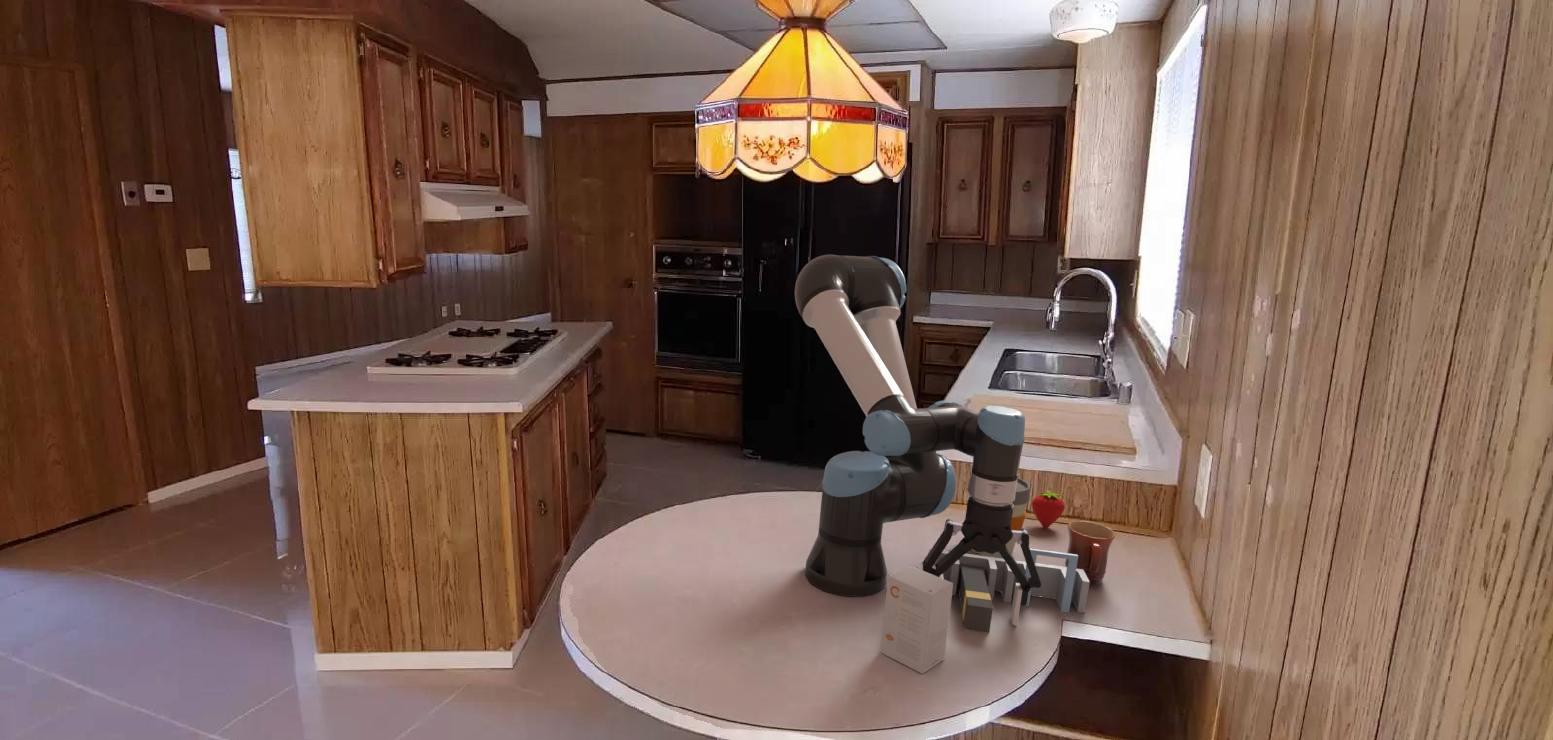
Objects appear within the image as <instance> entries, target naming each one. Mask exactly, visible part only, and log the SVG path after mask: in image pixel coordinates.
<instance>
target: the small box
mask: <svg viewBox="0 0 1553 740" xmlns="http://www.w3.org/2000/svg"><path fill="white" fill-rule="evenodd" d="M952 590H953V583H952V582H949V581H947V580H944V579H942V578H939V577H937V576H935V575H932V574H930V573H927V572H925V571H923V569H920V568H917V567H915V566H914V565H908V566H906V567H904V568H902V569H900V570H898V571H896V572H893V573H891V574H890V575H888V576H887V585H886V592H885V593H886V594H885V602H884V612H883V613H884V614H883V620H882V629H881V638H880V649H879V653H881V654H883V655H885V656H887V657H889V658H891V659H893V660H895V661H896V662H897V663H898V662H899V663H900V664H902V665H904V666H906V667H907V668H908V667H909V668H910V669H912V670H915V671H916V672H918V673H920V675H921V674H922V675H923V674H924V673H926V672H928V671H929V670H930V669H932V668H934V667H935V666H936V665H938V664H939V663H941V662H942V661H944V660H945V656H946V654H945V653H946V648H947V646H946V645H947V639H948V631H949V624H950V623H949V620H950V614H951V608H952V607H951V606H952V597H953V594H952Z"/></svg>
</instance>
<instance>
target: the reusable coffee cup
mask: <svg viewBox="0 0 1553 740" xmlns="http://www.w3.org/2000/svg"><path fill="white" fill-rule="evenodd" d="M970 479H971V475H970V477H969V479H968V480H969V481H968V485H967V492H968V497H969V496H970V494H969V486H970ZM1030 493H1031V485H1030V483H1029V482H1027V481H1026V480H1024V479H1022V478H1020V477H1018V478H1017V486H1016V493H1015V500H1014V501H1013V502H1012V503H1013V505H1014V508H1013V515H1012V522H1011V530H1015V531H1020V530H1021V529H1023V526H1024V523H1025V519H1026V515H1027V510H1026V509H1027V504H1028V503H1029V502H1030V499H1031V494H1030ZM967 502H968V500H967V501H966V503H967ZM1016 544H1017V542H1016V540H1015V539H1014V538H1012V539H1011V540H1010V541H1009V542H1008V543H1007V544H1006V547H1007V549H1008V550H1009V552H1010V553H1011V555H1012V556H1013V552H1014V549H1015V546H1016ZM970 551H972V552H973V553H975V554H976V555H979V556H987V557H994V558H1002V556H1001V555H1000V553H999V552H996V553H994V554H990V553H987V552H975V550H973V549H971V550H970ZM1002 559H1003V558H1002Z"/></svg>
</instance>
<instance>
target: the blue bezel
mask: <svg viewBox="0 0 1553 740" xmlns="http://www.w3.org/2000/svg"><path fill="white" fill-rule="evenodd" d="M1029 549H1030V552H1031V555H1032V558H1033V561H1034V564H1035V563H1037V562H1036V561H1037V557H1038V556H1042V557H1051V558H1058V559H1065V560H1066V559H1068V565H1067V571H1066V578H1065V584H1064V590H1063V596H1062V602H1061V608H1059V610H1060V612H1065V613H1070V607H1071V602H1072V601H1071V597H1072V591H1073V585H1074V579H1075V573H1076V567H1077V561H1078V555H1076V554H1068V553H1067V552H1060V551H1054V550H1053V551H1052V550H1051V551H1050V550H1044V549H1036V548H1030V547H1029ZM1025 576H1026V578H1030V577H1031V575H1030V572H1029V569H1028V566H1027V564H1026V570H1025ZM1031 589H1032V588H1030V591H1029V592H1028V598H1027V604H1026V606H1025V607H1028V606H1030V600H1031V597H1032V596H1031Z"/></svg>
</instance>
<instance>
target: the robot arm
mask: <svg viewBox="0 0 1553 740" xmlns="http://www.w3.org/2000/svg"><path fill="white" fill-rule="evenodd" d="M906 282H907V281H906V278H905V275H904V274H903V271H902V270H901V268H900V267H899V265H898V264H897V263H895V262H894V261H893V260H891V259H889V258H885V257H878V256H876V255H867V256H856V255H841V254H840V255H839V254H838V255H836V254H824V255H823V254H822V255H820V256H817V257H815V258H813V259H811V260H810V261H809V262H808V263H806V264H805V265H804V267H803V268H802V269H801V271H800V272H799V274H798V276H797V278H796V281H795V285H794V286H795V287H794V300H795V304H796V307H797V310H798V313H799V315H800V316H801V318H802V320H803V321H804V323H805V325H807V326H808V327H810V328H813V329H814V330H815V331H816V333H817V335H818V337H819V339H820V340H821V342H822V343H823V345H824V348H825V349H826V350H827V353H829V355H830V358H832V361H833V363H834V364H835V366H836V367H837V369H838V370H839V372H840V374H841V375H842V378H843V379H844V382H845V383H846V384H847V386H848V388H849V389H850V391H851V393H852V395H853V396H854V398H855V400H856V401H857V403H858V405H859V406H860V408H861V410H862V412H863V413H864V415H865V419H864V421H863V425H862V436H864V444H865V445H866V447H867V449H868V450H869V451H868V450H865V451H861V450H851V451H846V452H842V453H839V454H836V455H834V456H833V457H832V458H830V459H829V460H828V461H827V463H826V465H825V468H824V473H823V478H822V481H821V486H822V489H821V490H822V491H821V501H820V512H819V521H818V534H817V537H816V539H815V540H814V544H813V545H812V548H811V550H810V552H809V554H808V556H807V559H806V562H805V572H804V573H805V577H806V579H807V581H808V582H809V583H811V584H812V585H813V586H815V587H816V588H818V589H820V590H822V591H824V592H827V593H830V594H834V595H839V596H846V597H864V596H870V595H873V594H877V593H878V592H881V591H882V590H884V589H885V587H886V586H887V585H886V583H887V579H888V576H887V575H888V568H887V565H886V561H885V555H884V550H883V547H882V535H883V527H884V524H886V523H892V522H898V521H905V520H911V519H926V518H928V517H930V516H935V515H939V514H941V513H943V512H945V511H946V510H947V509H948V508H949V507H950V505H951V503H952V502H953V501H952V500H953V498H954V497H955V493H956V488H957V479H956V478H957V477H956V472H955V468H954V466H953V464H952V462H951V461H950V460H949V459H948V458H947V456H945V455H944V454H940V453H937V452H939V451H949V450H954V451H958V452H960V453H963V454H965V455H966V456H970V457H972V466H971V472H970V474H971V475H970V476H971V479H970V478H969V480H970V486H969V492H968V498H967V501H968V502H967V501H966V511H965V517H964V521H963V522H962V523H960V522H954V521H953V520H952V519H951V518H948V519H946V521H945V523H944V528H943V531H942V533H940V535H939V537H938V538H937V540H936V541H935V542H934V544H933V545H932V547H931V548H930V549H931V550H930V552H929V551H928V553H927V555H926V556H925V557H924V560H922V570H923V571H925V572H927V573H930V574H932V575H935V576H937V577H939V578H942V579H944V578H943V573H944V572H945V571H946V570H947V569H948V568H949V567H951V566H952V565H953V564H954V563H955V562H956V561H957V560H959V559H960V558H961V557H962V556H963V555H964V554H969V553H970V552H971V551H972V550H971V549H973V550H975V552H987V553H990V554H994V553H996V552H999V553H1000V555H1001V556H1002V559H1004V560H1005V562H1006V563H1007V565H1008V566H1009V568H1010V569H1011V571H1012V572H1013V574H1014V575H1015V577H1016V579H1017V580H1018V582H1019V583H1015V590H1014V593H1013V596H1012V598H1013V599H1012V603H1011V604H1012V605H1011V612H1010V620H1011V623H1012V626H1018V622H1019V616H1020V609H1021V607H1027V606H1026V604H1027V598H1028V592H1029V591H1030V588H1033V587H1036V588H1040V587H1041V582H1040V579H1039V576H1038V573H1037V570H1036V567H1035V564H1034V561H1033V558H1032V555H1031V552H1030V549H1029V548H1030V534H1029V532H1028V530H1027V529H1026V528H1023V527H1022V529H1021V530H1020V531H1015V530H1011V522H1012V515H1013V508H1014V505H1013V503H1012V502H1013V501H1014V500H1015V493H1016V486H1017V478H1019V468H1020V462H1021V458H1022V457H1021V456H1022V452H1023V447H1024V446H1023V445H1024V442H1025V428H1026V427H1025V426H1026V418H1025V416H1024V414H1023V413H1022V412H1021V411H1020V410H1017V409H1015V408H1010V407H1005V406H1001V405H987V406H983V407H982V408H980V410H979V411H977V410H973V409H971V408H968V407H965V406H963V405H962V404H959V403H957V402H950V401H947V400H939V401H936V402H934V403H932V405H929V406H928V407H927V408H926V407H925V408H924V407H923V408H922V407H921V408H918V406H917V403H916V399H915V395H914V391H913V388H912V387H913V386H912V383H911V379H910V376H909V371H908V368H907V367H908V366H907V363H906V359H905V356H904V355H905V354H904V351H903V347H902V343H901V338H900V334H899V331H898V328H897V327H898V326H897V323H896V322H897V320H898V318H900V316H901V308H902V307H903V305H904V303H905V301H906V299H907V298H906V296H905V293H907V284H906ZM969 494H970V496H969ZM959 532H961V533H962V535H963V536H964V537H963V538H962V539H960V541H959V542H958V543H957V544H956V545H955V546H954V547H953V548H952V549H951V550H950V552H949V553H947V554H946V555H945V556H944V557H943V558H942V559H941V560H940V561H939V562H937V563H936V564H935V562H936V561H937V559H938V558H939V556H940V555H941V553H942V552H943V551H945V549H946V548H947V546H948V545H949V543H950V541H951V539H952V536H956V535H958V533H959ZM1012 538H1014V539H1015V540H1016V544H1018V545H1019V546H1020V548H1021V552H1022V554H1023V558H1024V560H1025V561H1024V562H1026V564H1027V566H1028V569H1029V572H1030V575H1031V577H1030V578H1026V576H1025V575H1024V573H1023V572H1022V570H1021V569H1020V567H1019V566H1018V564H1017V563H1016V561H1015V558H1014V556H1013V554H1012V555H1011V553H1010V552H1009V550H1008V549H1007V547H1006V544H1007V543H1008V542H1009V541H1010V540H1011V539H1012ZM975 552H974V553H975ZM934 564H935V565H934Z"/></svg>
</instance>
